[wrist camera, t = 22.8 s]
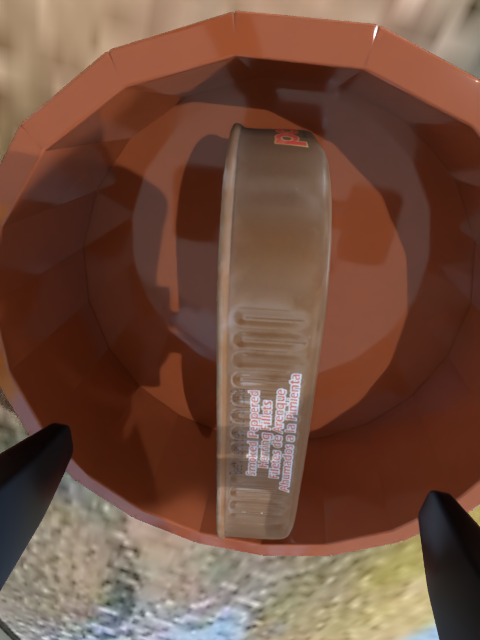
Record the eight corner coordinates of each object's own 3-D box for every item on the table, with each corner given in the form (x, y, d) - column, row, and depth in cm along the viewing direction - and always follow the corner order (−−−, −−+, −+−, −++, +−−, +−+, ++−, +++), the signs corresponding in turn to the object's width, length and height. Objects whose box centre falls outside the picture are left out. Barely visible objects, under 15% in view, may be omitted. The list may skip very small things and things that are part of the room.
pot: (48, 30, 14) (-117, -25, 9) (581, 85, 13) (802, 64, 7) (92, 413, 23) (26, 510, 18) (408, 468, 22) (446, 591, 16)
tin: (241, 120, 14) (182, 127, 7) (327, 123, 14) (361, 135, 7) (233, 423, 22) (199, 585, 14) (290, 430, 21) (285, 599, 14)
